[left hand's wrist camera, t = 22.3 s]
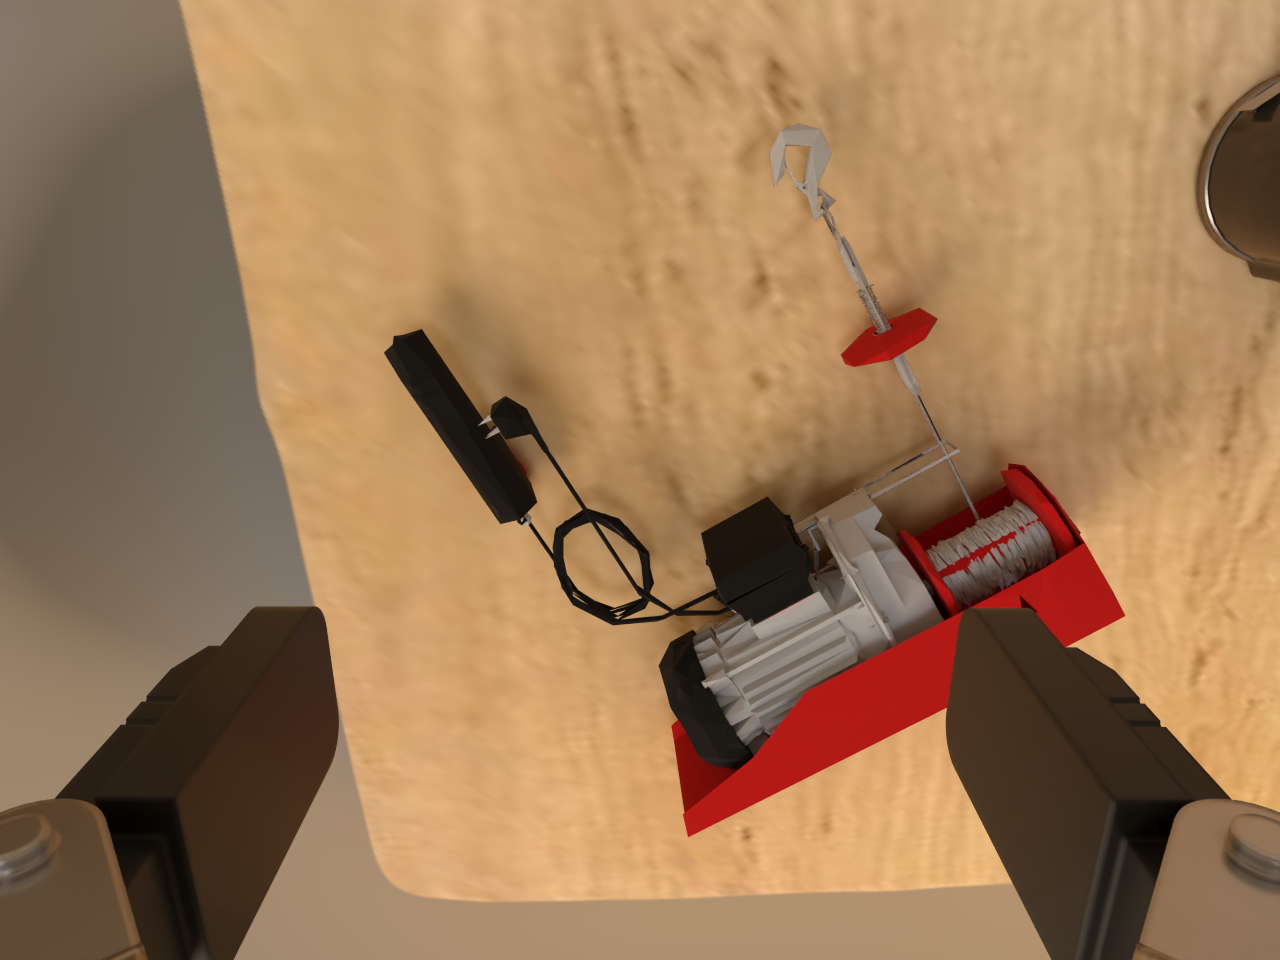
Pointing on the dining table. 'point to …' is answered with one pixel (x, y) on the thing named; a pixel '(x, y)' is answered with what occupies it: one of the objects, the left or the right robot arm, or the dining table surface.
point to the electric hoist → (803, 580)
